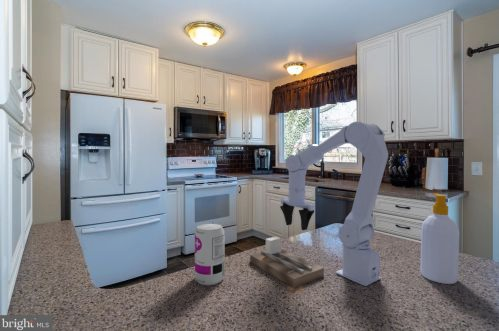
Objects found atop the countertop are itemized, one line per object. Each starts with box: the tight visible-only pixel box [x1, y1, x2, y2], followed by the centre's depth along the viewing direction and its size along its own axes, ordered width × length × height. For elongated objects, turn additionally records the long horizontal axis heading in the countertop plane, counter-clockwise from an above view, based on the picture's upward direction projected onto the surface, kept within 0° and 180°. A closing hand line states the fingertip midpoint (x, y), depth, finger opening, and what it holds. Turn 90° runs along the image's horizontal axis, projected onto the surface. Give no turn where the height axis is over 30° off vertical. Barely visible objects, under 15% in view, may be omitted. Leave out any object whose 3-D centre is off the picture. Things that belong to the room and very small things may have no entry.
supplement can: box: [194, 222, 226, 286], centre depth 72 cm, size 8×8×15 cm
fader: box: [265, 236, 282, 256], centre depth 84 cm, size 3×4×5 cm
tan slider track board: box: [249, 248, 325, 289], centre depth 79 cm, size 20×12×3 cm, turn 35°
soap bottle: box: [419, 192, 460, 285], centre depth 74 cm, size 9×9×24 cm
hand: (296, 227), depth 92 cm, fingers open, 7 cm apart
